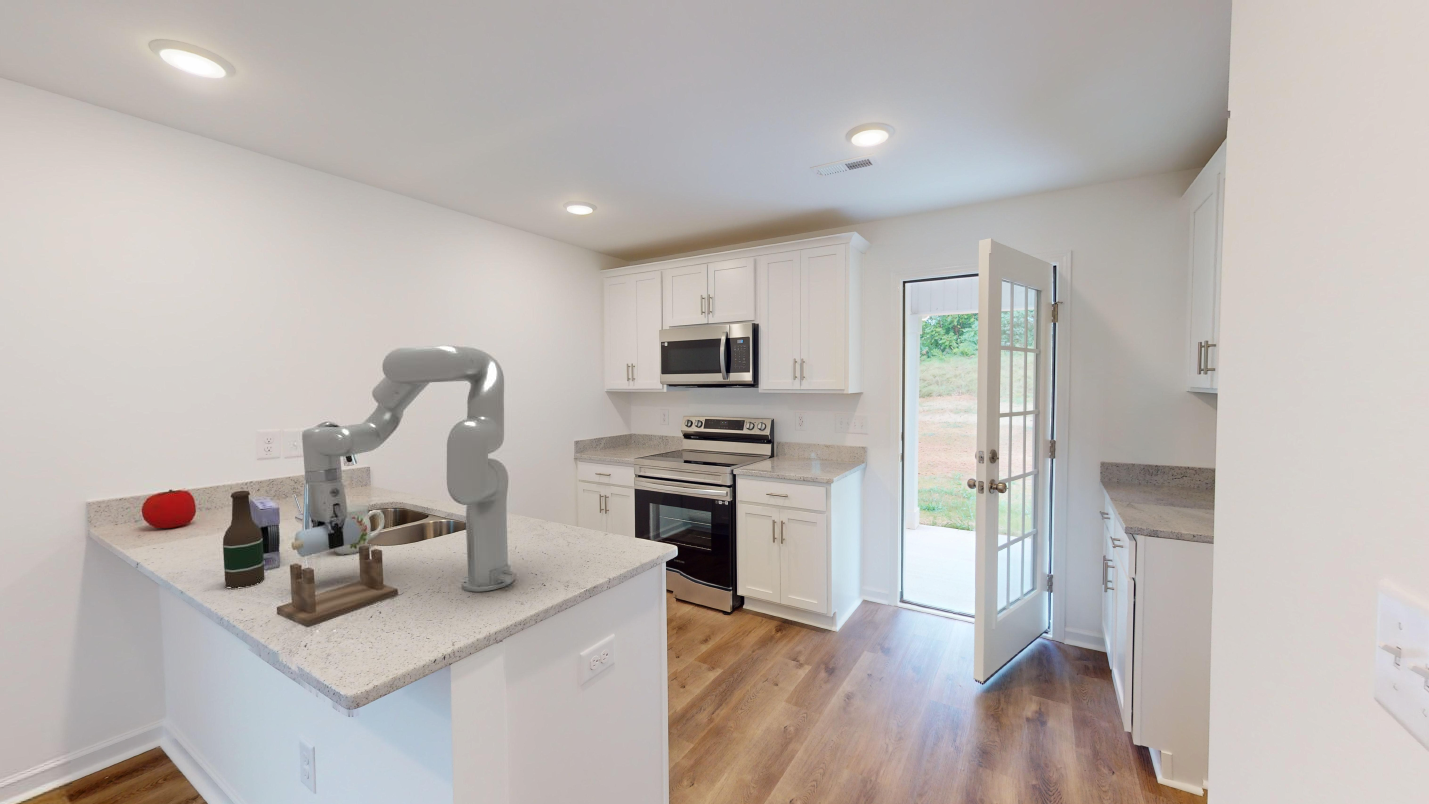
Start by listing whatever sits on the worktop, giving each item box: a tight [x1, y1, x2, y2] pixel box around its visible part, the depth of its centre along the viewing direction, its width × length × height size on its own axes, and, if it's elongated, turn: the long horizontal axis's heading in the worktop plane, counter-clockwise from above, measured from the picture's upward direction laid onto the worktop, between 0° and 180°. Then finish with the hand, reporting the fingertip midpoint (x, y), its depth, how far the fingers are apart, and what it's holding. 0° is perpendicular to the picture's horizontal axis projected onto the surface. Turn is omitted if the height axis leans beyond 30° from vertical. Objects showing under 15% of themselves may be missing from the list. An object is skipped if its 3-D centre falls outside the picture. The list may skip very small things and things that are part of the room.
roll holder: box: [276, 545, 399, 628], centre depth 126 cm, size 14×19×11 cm
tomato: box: [141, 488, 197, 529], centre depth 195 cm, size 16×14×14 cm
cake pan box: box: [249, 496, 281, 571], centre depth 155 cm, size 19×5×18 cm, turn 47°
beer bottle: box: [222, 490, 265, 588], centre depth 139 cm, size 8×8×24 cm
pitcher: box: [331, 504, 385, 556], centre depth 165 cm, size 11×18×14 cm, turn 146°
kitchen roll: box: [291, 519, 362, 558], centre depth 138 cm, size 6×15×6 cm, turn 150°
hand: (329, 545), depth 138 cm, fingers closed on kitchen roll, 6 cm apart
